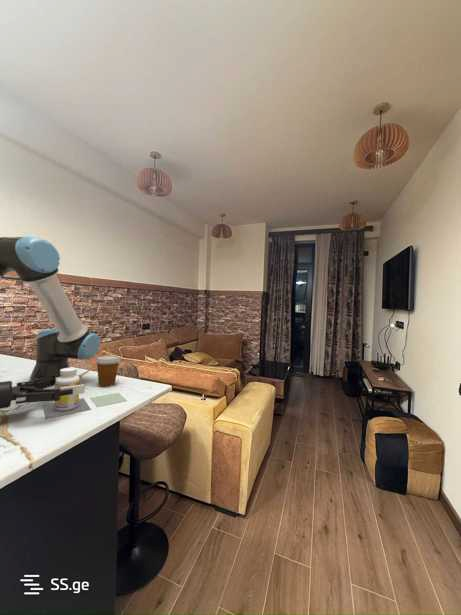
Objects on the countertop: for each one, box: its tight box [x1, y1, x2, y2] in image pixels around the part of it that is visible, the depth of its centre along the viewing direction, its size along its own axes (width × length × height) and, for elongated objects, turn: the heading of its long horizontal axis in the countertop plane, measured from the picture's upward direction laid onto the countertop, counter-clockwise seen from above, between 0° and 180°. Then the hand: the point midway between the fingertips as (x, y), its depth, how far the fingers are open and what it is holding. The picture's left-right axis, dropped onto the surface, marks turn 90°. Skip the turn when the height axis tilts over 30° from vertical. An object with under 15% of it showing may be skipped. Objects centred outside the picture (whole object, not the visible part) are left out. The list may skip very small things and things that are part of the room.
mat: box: [90, 392, 128, 408], centre depth 89 cm, size 10×10×1 cm
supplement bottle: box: [54, 367, 81, 411], centre depth 80 cm, size 7×7×13 cm
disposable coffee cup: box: [95, 355, 121, 388], centre depth 105 cm, size 10×10×12 cm
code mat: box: [42, 397, 92, 420], centre depth 80 cm, size 12×12×1 cm
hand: (80, 383), depth 83 cm, fingers open, 12 cm apart
